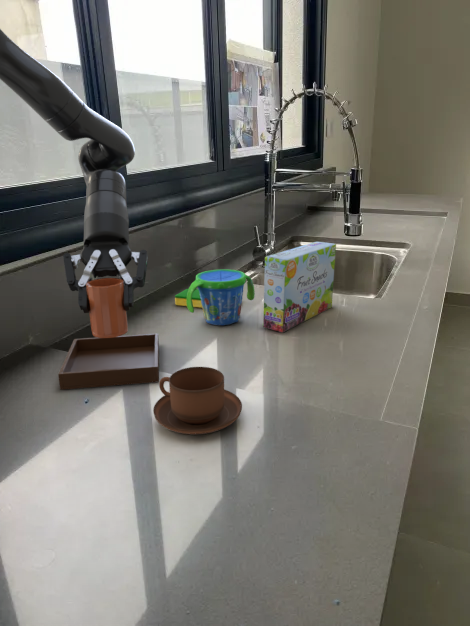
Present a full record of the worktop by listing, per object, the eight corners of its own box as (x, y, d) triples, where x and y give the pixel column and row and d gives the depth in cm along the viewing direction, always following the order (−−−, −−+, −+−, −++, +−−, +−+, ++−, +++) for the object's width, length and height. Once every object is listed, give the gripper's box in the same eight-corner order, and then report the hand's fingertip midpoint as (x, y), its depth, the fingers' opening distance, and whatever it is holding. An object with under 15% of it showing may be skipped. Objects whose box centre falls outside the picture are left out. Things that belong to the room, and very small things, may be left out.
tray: (60, 389, 77) (57, 374, 76) (75, 352, 91) (74, 338, 90) (158, 382, 79) (157, 366, 78) (159, 346, 93) (158, 333, 92)
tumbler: (89, 339, 79) (83, 288, 76) (94, 327, 85) (88, 278, 82) (126, 336, 80) (122, 285, 77) (129, 324, 85) (124, 276, 83)
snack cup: (197, 334, 99) (194, 285, 96) (179, 319, 108) (176, 274, 105) (265, 322, 105) (265, 275, 102) (243, 308, 114) (243, 265, 111)
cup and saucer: (142, 440, 63) (138, 397, 61) (167, 396, 74) (165, 358, 72) (235, 446, 62) (234, 401, 60) (246, 399, 73) (246, 361, 71)
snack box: (285, 334, 98) (286, 259, 94) (262, 328, 102) (262, 256, 97) (334, 307, 114) (337, 242, 110) (312, 303, 118) (314, 239, 113)
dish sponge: (188, 297, 124) (187, 287, 123) (239, 302, 119) (239, 292, 119) (174, 305, 118) (174, 295, 117) (228, 311, 113) (228, 300, 112)
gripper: (58, 212, 82) (54, 301, 75) (146, 208, 84) (150, 295, 77) (68, 238, 89) (65, 322, 82) (149, 235, 91) (153, 317, 83)
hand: (106, 309), depth 79 cm, fingers closed on tumbler, 6 cm apart
